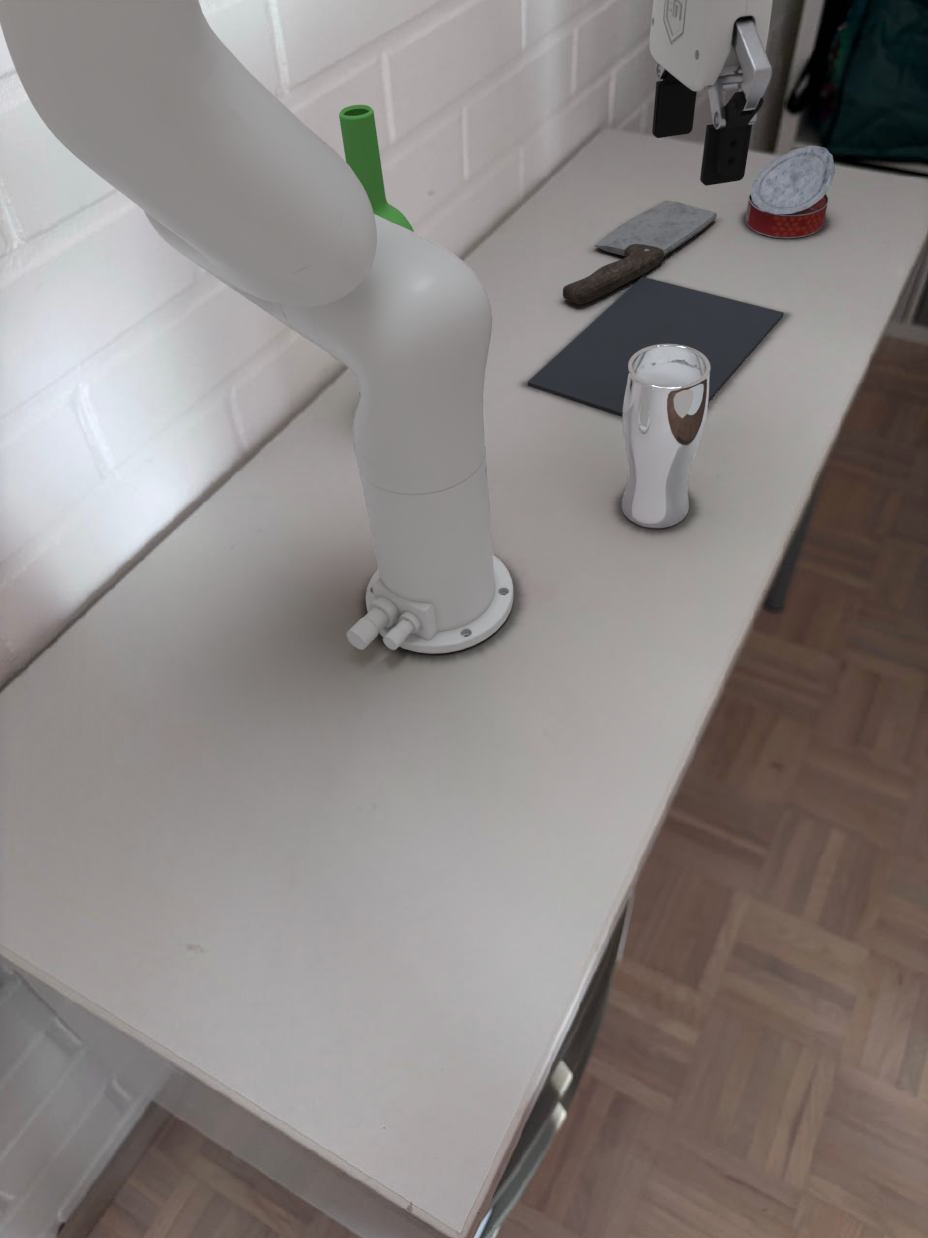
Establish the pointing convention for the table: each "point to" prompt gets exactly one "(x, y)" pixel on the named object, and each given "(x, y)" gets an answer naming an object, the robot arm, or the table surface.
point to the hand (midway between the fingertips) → (695, 156)
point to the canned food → (791, 194)
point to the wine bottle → (367, 161)
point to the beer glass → (662, 430)
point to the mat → (654, 340)
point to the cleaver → (640, 247)
